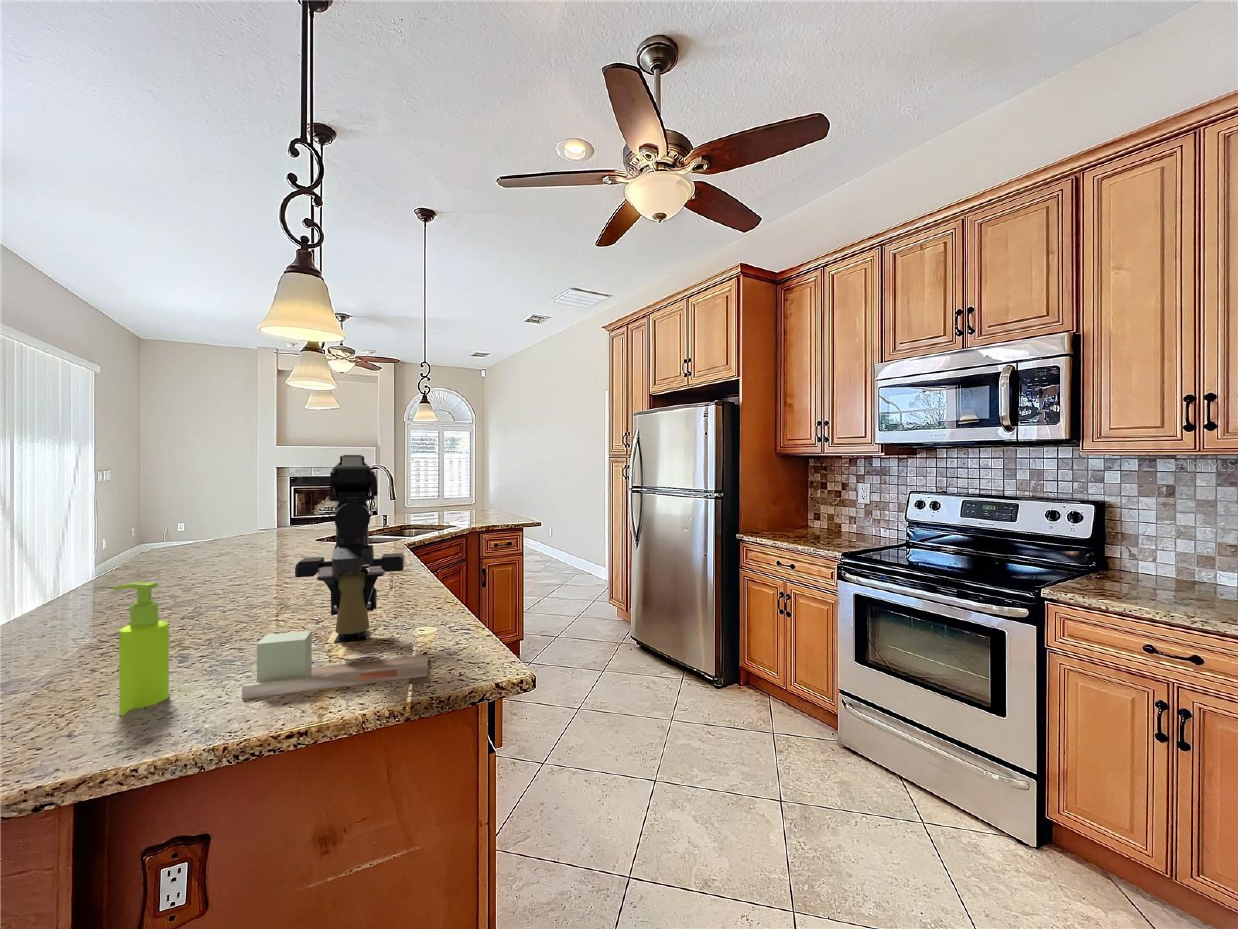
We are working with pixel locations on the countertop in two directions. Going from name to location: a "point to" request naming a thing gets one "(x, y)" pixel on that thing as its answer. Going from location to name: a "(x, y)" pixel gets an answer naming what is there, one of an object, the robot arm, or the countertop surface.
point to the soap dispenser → (143, 653)
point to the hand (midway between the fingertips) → (352, 608)
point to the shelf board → (345, 676)
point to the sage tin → (284, 656)
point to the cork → (352, 604)
